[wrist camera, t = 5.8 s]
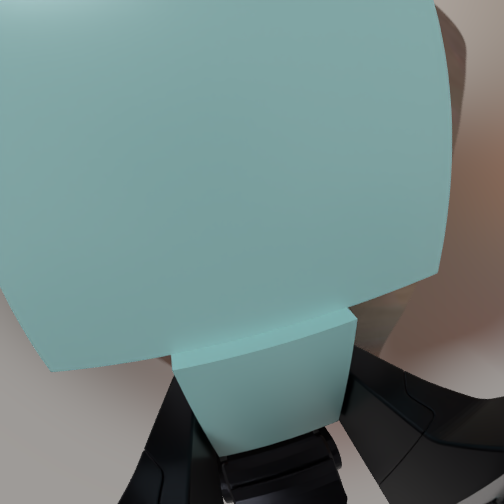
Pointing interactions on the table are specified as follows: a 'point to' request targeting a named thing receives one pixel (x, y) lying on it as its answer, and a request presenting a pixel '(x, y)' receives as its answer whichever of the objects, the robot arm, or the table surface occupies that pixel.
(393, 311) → the table surface
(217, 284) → the lid
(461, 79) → the table surface
